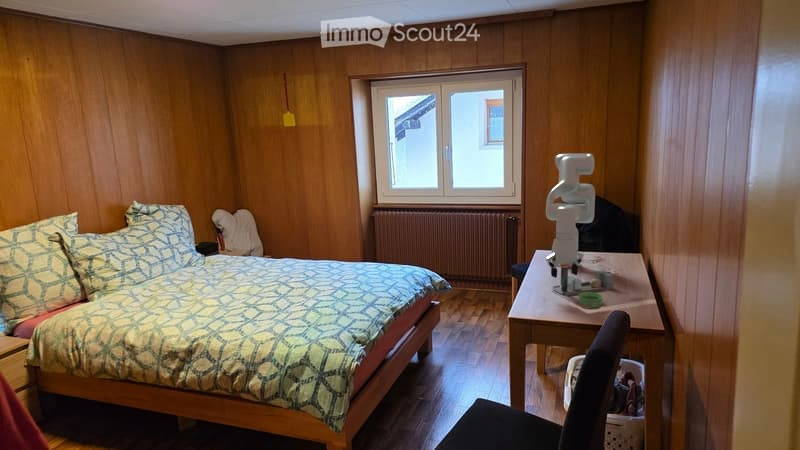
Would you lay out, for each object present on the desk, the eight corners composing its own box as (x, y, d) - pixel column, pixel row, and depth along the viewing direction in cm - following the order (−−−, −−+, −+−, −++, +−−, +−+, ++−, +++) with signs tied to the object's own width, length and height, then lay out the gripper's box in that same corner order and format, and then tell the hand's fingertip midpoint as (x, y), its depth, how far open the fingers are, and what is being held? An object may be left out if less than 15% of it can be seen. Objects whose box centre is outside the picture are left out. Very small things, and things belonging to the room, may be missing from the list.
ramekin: (574, 303, 200) (574, 292, 199) (595, 301, 201) (596, 291, 200) (584, 311, 192) (584, 300, 191) (606, 309, 192) (607, 298, 191)
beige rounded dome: (589, 286, 215) (589, 279, 215) (597, 285, 216) (597, 278, 216) (595, 289, 211) (595, 282, 211) (603, 288, 212) (603, 280, 212)
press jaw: (552, 289, 212) (553, 263, 210) (571, 286, 214) (572, 261, 212) (562, 294, 205) (563, 267, 203) (581, 291, 208) (582, 265, 206)
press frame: (551, 291, 215) (552, 274, 214) (598, 285, 221) (599, 268, 220) (567, 300, 204) (568, 282, 202) (617, 293, 210) (618, 276, 209)
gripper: (578, 232, 211) (576, 271, 214) (542, 235, 206) (541, 275, 209) (589, 235, 204) (587, 275, 207) (552, 239, 199) (551, 280, 202)
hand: (564, 275), depth 208 cm, fingers open, 9 cm apart
